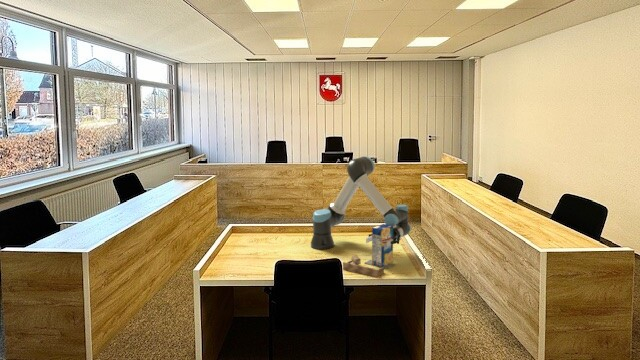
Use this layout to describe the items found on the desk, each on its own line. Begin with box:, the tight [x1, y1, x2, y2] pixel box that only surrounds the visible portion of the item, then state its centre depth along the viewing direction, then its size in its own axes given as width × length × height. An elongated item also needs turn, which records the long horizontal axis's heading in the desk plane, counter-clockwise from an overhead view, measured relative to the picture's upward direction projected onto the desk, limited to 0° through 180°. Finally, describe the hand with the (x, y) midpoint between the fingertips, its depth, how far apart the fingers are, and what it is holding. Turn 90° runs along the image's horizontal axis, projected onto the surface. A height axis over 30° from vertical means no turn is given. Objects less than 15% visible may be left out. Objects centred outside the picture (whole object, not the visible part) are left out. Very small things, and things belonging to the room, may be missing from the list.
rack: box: [342, 260, 385, 278], centre depth 299 cm, size 22×8×4 cm, turn 54°
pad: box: [363, 259, 395, 269], centre depth 309 cm, size 16×7×1 cm, turn 54°
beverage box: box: [371, 223, 394, 268], centre depth 308 cm, size 7×11×22 cm, turn 136°
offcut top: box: [351, 254, 362, 265], centre depth 305 cm, size 3×7×3 cm, turn 16°
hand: (376, 242), depth 305 cm, fingers open, 13 cm apart
